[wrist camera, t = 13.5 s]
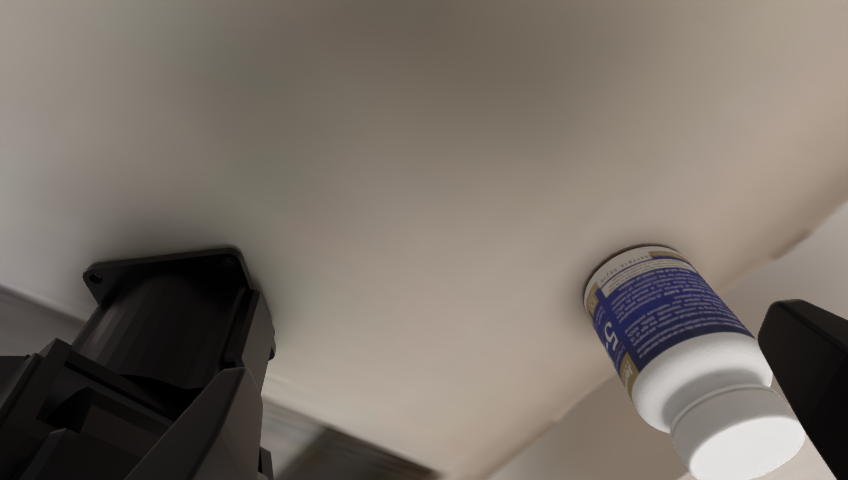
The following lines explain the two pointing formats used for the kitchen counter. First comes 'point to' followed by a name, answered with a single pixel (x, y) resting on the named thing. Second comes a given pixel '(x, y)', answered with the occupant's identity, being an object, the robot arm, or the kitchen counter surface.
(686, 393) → the pill bottle
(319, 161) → the kitchen counter surface
